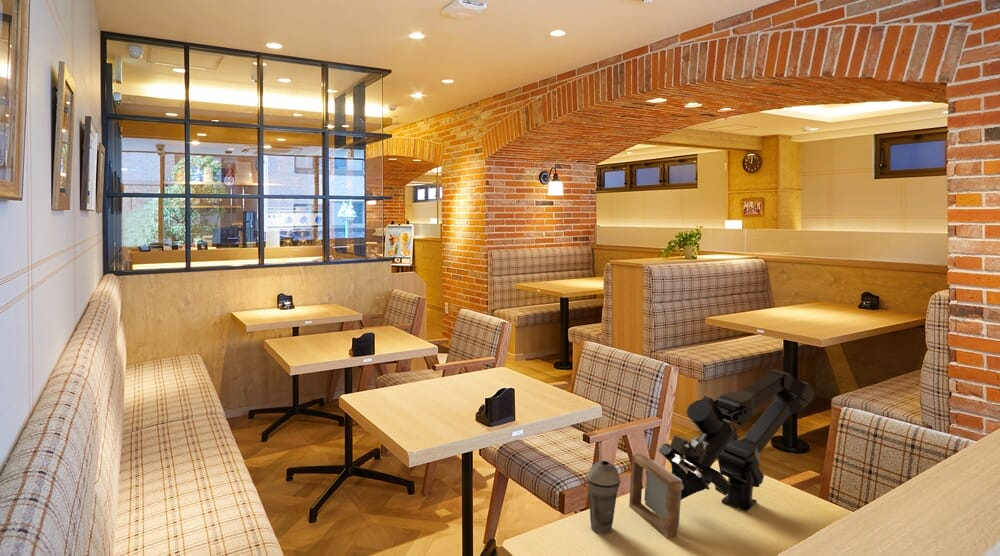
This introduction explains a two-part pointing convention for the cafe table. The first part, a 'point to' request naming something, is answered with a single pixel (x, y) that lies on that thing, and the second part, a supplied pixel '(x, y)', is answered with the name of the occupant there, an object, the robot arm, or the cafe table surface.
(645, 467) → the cabinet frame
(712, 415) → the robot arm
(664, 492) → the cabinet door
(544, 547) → the cafe table surface
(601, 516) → the beverage cup
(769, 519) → the cafe table surface
